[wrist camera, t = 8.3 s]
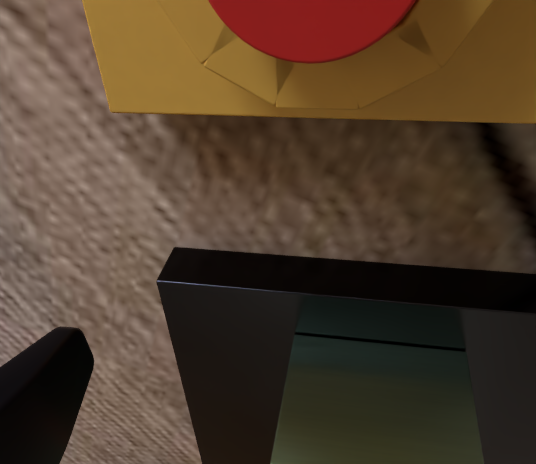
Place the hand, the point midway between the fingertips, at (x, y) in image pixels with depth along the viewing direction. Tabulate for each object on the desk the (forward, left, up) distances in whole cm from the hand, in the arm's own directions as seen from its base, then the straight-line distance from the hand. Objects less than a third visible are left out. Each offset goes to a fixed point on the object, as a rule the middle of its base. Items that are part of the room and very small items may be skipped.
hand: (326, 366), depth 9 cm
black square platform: (-1, +12, -9) cm, 15 cm away
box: (-1, +12, -7) cm, 14 cm away
